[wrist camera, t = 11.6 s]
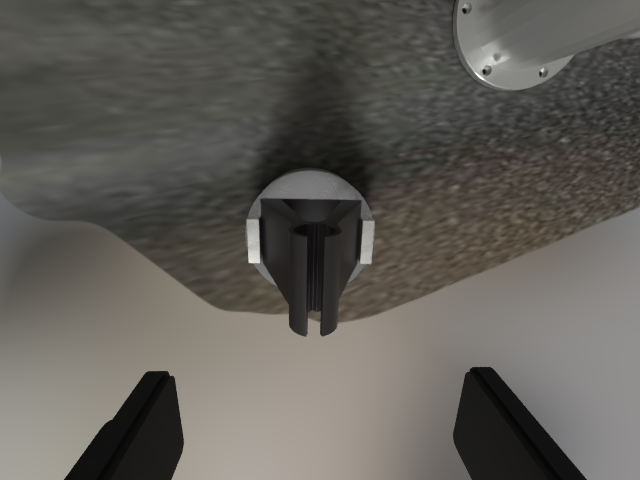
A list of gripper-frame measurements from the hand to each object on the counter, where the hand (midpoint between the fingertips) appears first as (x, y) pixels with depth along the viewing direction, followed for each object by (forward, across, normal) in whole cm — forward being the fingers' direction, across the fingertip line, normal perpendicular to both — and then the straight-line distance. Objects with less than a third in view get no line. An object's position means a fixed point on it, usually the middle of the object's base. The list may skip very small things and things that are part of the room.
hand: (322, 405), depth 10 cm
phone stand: (+19, 0, 0) cm, 19 cm away
